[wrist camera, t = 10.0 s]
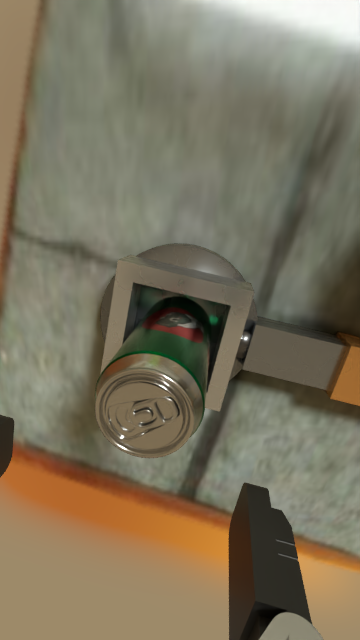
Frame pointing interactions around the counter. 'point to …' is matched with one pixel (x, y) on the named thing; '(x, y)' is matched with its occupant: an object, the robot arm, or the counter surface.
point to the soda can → (157, 381)
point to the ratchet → (227, 323)
